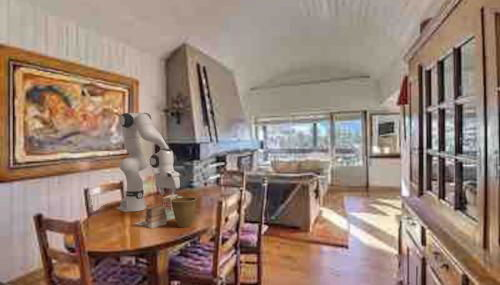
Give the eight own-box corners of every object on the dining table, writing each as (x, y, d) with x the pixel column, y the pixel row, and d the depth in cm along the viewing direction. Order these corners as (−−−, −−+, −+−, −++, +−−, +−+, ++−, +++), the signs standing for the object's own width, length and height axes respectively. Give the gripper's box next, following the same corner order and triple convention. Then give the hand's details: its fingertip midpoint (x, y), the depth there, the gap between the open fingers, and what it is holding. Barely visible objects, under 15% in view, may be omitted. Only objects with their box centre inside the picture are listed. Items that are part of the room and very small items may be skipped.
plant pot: (201, 223, 195) (201, 197, 194) (187, 230, 181) (187, 202, 181) (181, 221, 201) (181, 196, 201) (166, 227, 187) (165, 200, 187)
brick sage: (159, 220, 205) (159, 212, 205) (171, 217, 213) (171, 209, 213) (164, 221, 202) (163, 213, 202) (176, 218, 210) (176, 210, 210)
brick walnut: (146, 216, 190) (146, 208, 190) (160, 213, 198) (159, 205, 198) (151, 217, 187) (151, 209, 187) (165, 214, 196) (165, 206, 195)
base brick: (145, 226, 190) (145, 216, 190) (160, 222, 199) (160, 212, 199) (151, 228, 187) (151, 218, 187) (166, 223, 196) (166, 214, 196)
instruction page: (133, 223, 197) (133, 223, 197) (146, 220, 204) (146, 220, 204) (140, 225, 193) (140, 225, 193) (153, 222, 200) (153, 221, 200)
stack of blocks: (175, 208, 238) (175, 192, 238) (183, 208, 237) (183, 192, 237) (162, 215, 217) (162, 197, 217) (171, 215, 216) (171, 197, 216)
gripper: (152, 173, 211) (153, 194, 211) (173, 174, 199) (174, 197, 199) (160, 172, 216) (161, 192, 216) (181, 173, 204) (182, 195, 204)
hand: (167, 194), depth 207 cm, fingers open, 8 cm apart
